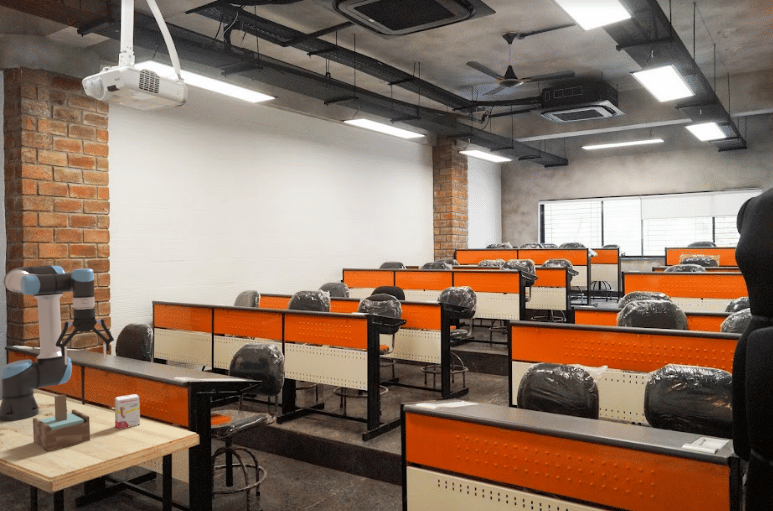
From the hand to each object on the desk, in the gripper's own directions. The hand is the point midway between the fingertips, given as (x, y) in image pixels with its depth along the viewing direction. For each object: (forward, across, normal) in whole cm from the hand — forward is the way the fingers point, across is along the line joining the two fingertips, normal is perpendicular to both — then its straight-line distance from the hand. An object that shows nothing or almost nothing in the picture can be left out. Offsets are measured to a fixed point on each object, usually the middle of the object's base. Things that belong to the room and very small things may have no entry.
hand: (85, 361), depth 224 cm
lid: (+20, -9, -8) cm, 24 cm away
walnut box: (+28, -9, -8) cm, 30 cm away
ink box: (+28, +14, -2) cm, 31 cm away
